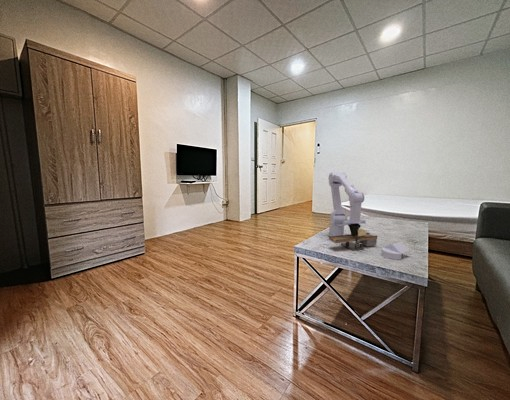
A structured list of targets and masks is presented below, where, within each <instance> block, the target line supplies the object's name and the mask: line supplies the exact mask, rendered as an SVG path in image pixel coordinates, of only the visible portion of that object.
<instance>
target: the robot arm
mask: <svg viewBox="0 0 510 400" xmlns="http://www.w3.org/2000/svg"><path fill="white" fill-rule="evenodd" d="M328 185H329V186H330V190H331V197H332V198H331V199H332V205H333V210H332V212H331V213H329V214H330V215H329V216H330V218H329V220H330V221H329V222H330V225H329V230H328V234H327V236H328V237H329V236H339V235H345V234H344V231H345V226H348V228H349V230H350V231H349V232H350V234H351V236H356V233H357V231H358V229H361V227H362V226H361V224H365V225H366V223H367V222H366V219H361V215H362V214H361V213H362V212H361V211H362V203H364V201H365V195H364V192H360V191H358V189H357V188H356V187H355V186H354V184H350V182H349V180H348V179H347V174H346V173H345V172H330V173H329V175H328ZM341 186H343V188H344V192H345V193H346V194H347V196H348V202H349V206H350V207H349V217H348V216H347V212H345V211H344V210H342V209H343V208H342V201H341V192H340V187H341ZM348 218H349V219H348Z"/></svg>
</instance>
